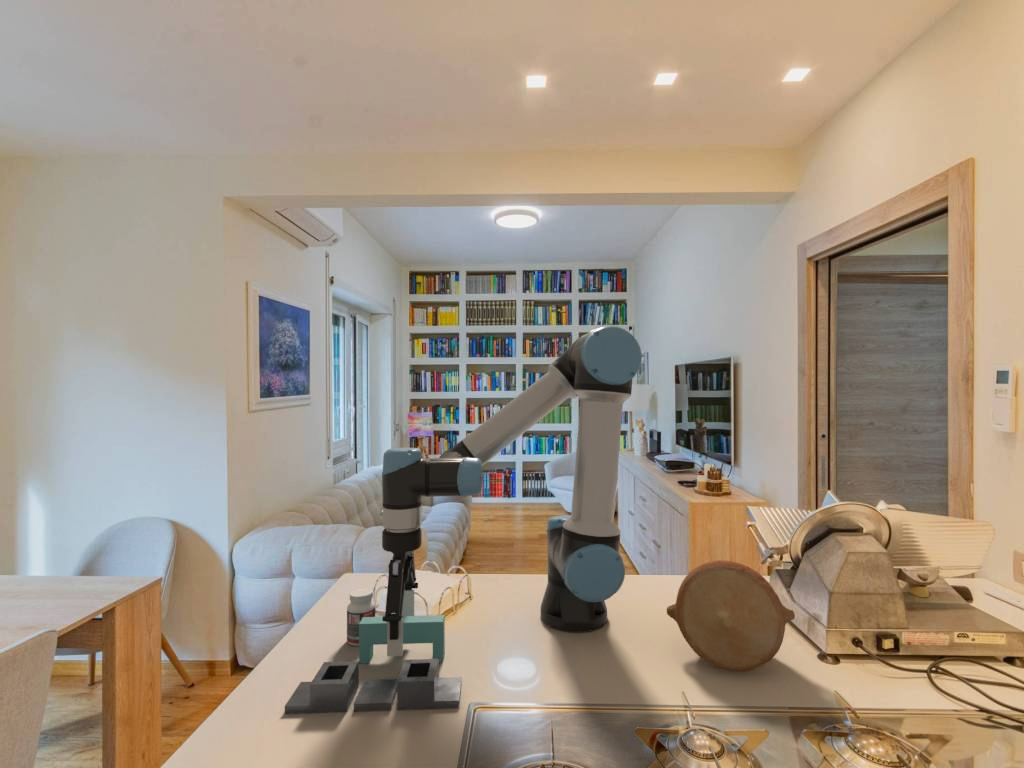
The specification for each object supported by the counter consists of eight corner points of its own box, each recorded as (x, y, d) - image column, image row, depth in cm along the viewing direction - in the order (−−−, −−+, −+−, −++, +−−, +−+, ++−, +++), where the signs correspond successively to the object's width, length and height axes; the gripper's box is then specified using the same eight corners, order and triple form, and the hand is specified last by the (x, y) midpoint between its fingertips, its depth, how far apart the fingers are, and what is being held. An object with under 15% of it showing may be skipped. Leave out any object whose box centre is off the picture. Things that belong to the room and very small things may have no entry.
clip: (444, 653, 101) (444, 615, 101) (443, 661, 98) (443, 621, 98) (363, 655, 101) (362, 617, 101) (359, 663, 98) (358, 623, 98)
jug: (649, 606, 94) (658, 572, 122) (718, 707, 88) (711, 647, 116) (742, 547, 90) (729, 526, 119) (820, 647, 85) (787, 600, 113)
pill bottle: (367, 648, 104) (367, 598, 104) (341, 645, 105) (341, 596, 105) (380, 635, 109) (379, 588, 110) (355, 632, 111) (355, 586, 111)
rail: (461, 683, 90) (461, 658, 91) (459, 708, 84) (458, 680, 84) (300, 688, 89) (300, 662, 90) (284, 713, 82) (284, 685, 83)
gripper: (394, 513, 112) (394, 610, 112) (367, 546, 87) (366, 672, 87) (429, 512, 113) (429, 610, 112) (411, 546, 88) (410, 671, 87)
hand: (401, 637), depth 100 cm, fingers open, 13 cm apart
